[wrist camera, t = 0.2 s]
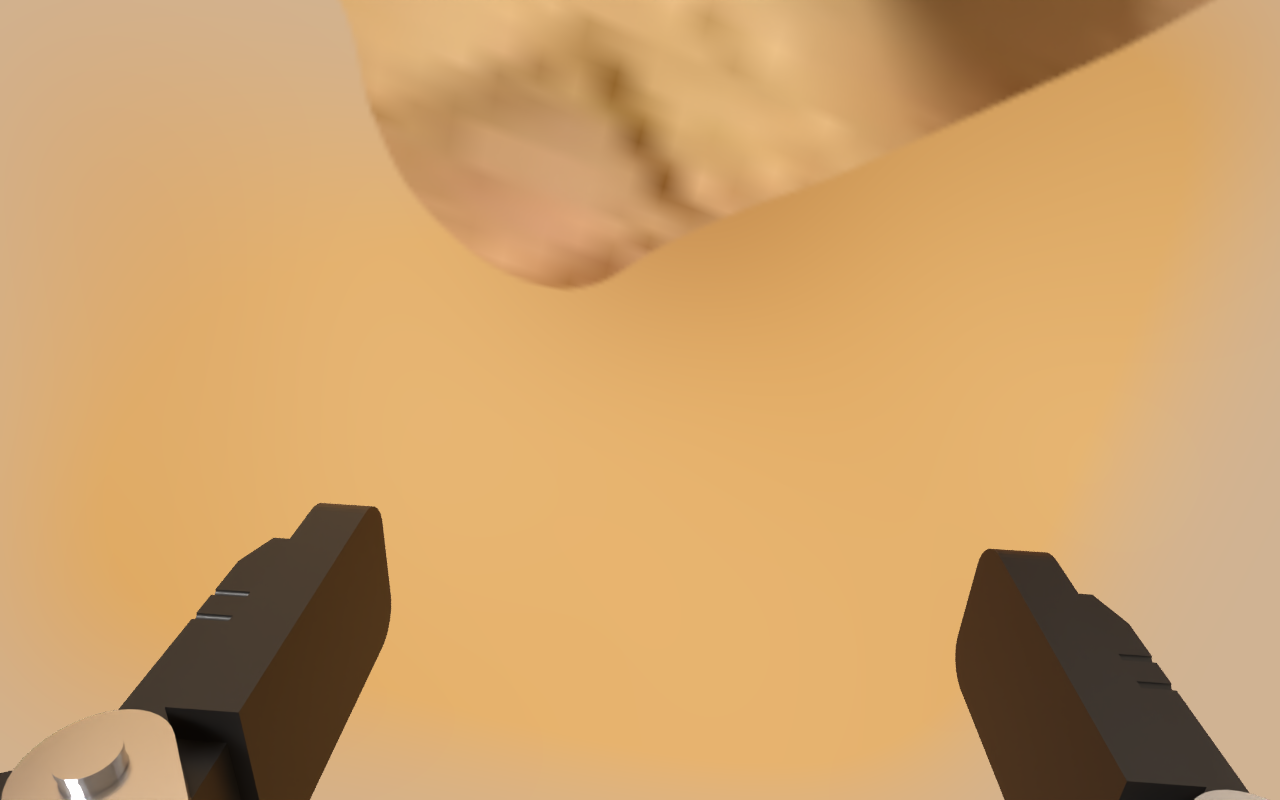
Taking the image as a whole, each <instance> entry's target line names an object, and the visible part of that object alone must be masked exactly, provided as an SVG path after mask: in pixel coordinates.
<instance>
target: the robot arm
mask: <svg viewBox="0 0 1280 800" xmlns="http://www.w3.org/2000/svg"><path fill="white" fill-rule="evenodd" d="M390 614H391V594H390V585H389V576H388V568H387V559H386V550H385V542H384V533H383V524H382V518H381V514H380V512H379V511H378V509H377V508H376V507H372V506H371V507H370V506H357V505H341V504H326V503H319V504H317V505H316V506H314V507H313V509H312V510H311V511H310V512H309V514H308V515H307V516H306V518H305V519H304V521H303V522H302V523H301V525H300V526H299V527H298V529H297V530H296V531H295V533H294V534H293V535H292V537H291V538H290V539H283V538H282V539H281V538H273V539H271V540H270V541H268V542H267V543H265V544H264V545H262V546H261V547H259V548H258V549H256V550H254V551H253V552H251V553H250V554H248V555H247V556H245V557H244V558H242V559H241V560H240V561H238V563H237V564H236V565H235V566H234V567H233V568H232V570H231V571H230V572H229V573H228V575H227V576H226V577H225V578H224V580H223V581H222V582H221V583H220V585H219V586H218V587H217V588H216V593H215V595H211V596H210V597H209V598H208V600H207V601H206V602H205V603H204V604H203V606H202V607H201V608H200V609H199V611H198V612H197V616H196V619H192V620H190V622H189V623H188V624H187V626H186V627H185V628H184V629H183V630H182V632H181V633H180V634H179V635H178V637H177V638H176V639H175V640H174V642H173V643H172V644H171V645H170V646H169V648H168V649H167V650H166V651H165V653H164V654H163V656H162V657H161V658H160V659H159V660H158V661H157V663H156V664H155V665H154V666H153V667H152V669H151V670H150V671H149V672H148V674H147V675H146V676H145V677H144V679H143V680H142V681H141V682H140V684H139V685H138V686H137V687H136V689H135V690H134V691H133V692H132V693H131V695H130V696H129V697H128V698H127V700H126V701H125V702H124V703H123V705H122V706H121V707H120V708H119V710H114V711H109V712H104V713H100V714H96V715H93V716H90V717H87V718H84V719H82V720H79V721H77V722H74V723H72V724H70V725H69V726H66V727H64V728H62V729H60V730H59V731H57V732H55V733H54V734H52V735H51V736H49V737H48V738H46V739H45V740H43V741H42V742H41V743H39V744H38V745H37V746H36V747H34V748H33V749H32V750H31V751H30V752H29V753H28V754H27V755H26V756H25V757H23V758H22V760H21V761H20V762H19V763H18V764H17V766H16V767H15V768H14V770H13V771H8V772H4V773H0V800H310V798H311V796H312V794H313V792H314V790H315V788H316V785H317V783H318V781H319V779H320V777H321V775H322V773H323V771H324V768H325V767H326V764H327V762H328V760H329V758H330V756H331V754H332V752H333V750H334V748H335V745H336V743H337V741H338V739H339V737H340V735H341V733H342V731H343V729H344V726H345V724H346V722H347V720H348V718H349V716H350V714H351V712H352V710H353V707H354V706H355V703H356V701H357V699H358V697H359V695H360V693H361V691H362V688H363V687H364V684H365V682H366V680H367V678H368V676H369V674H370V672H371V670H372V667H373V666H374V663H375V661H376V659H377V657H378V655H379V653H380V651H381V649H382V647H383V644H384V641H385V639H386V635H387V632H388V627H389V622H390ZM1151 658H1152V656H1151V654H1150V653H1149V652H1148V650H1147V649H1146V647H1145V646H1144V645H1143V643H1142V642H1141V640H1140V639H1139V638H1138V636H1137V635H1136V634H1135V632H1134V631H1133V629H1132V628H1131V626H1130V625H1129V624H1128V623H1127V622H1126V621H1124V620H1123V619H1122V618H1121V617H1120V616H1118V615H1117V614H1116V613H1114V612H1113V611H1112V610H1111V609H1109V608H1108V607H1107V606H1106V605H1104V604H1103V603H1102V602H1101V601H1099V600H1098V599H1097V598H1096V597H1094V596H1093V595H1087V594H1078V592H1077V591H1076V590H1075V588H1074V586H1073V585H1072V583H1071V582H1070V580H1069V579H1068V577H1067V576H1066V574H1065V573H1064V571H1063V570H1062V568H1061V567H1060V566H1059V564H1058V562H1057V561H1056V560H1055V558H1054V557H1053V556H1052V555H1050V554H1049V553H1045V552H1044V553H1043V552H1029V551H1014V550H999V549H987V550H986V551H984V553H983V554H982V555H981V557H980V559H979V562H978V566H977V569H976V573H975V576H974V580H973V583H972V587H971V591H970V594H969V598H968V601H967V605H966V609H965V612H964V616H963V619H962V623H961V627H960V631H959V634H958V638H957V644H956V659H955V660H956V672H957V678H958V682H959V686H960V689H961V692H962V694H963V696H964V699H965V702H966V704H967V706H968V709H969V712H970V714H971V716H972V719H973V722H974V724H975V727H976V729H977V732H978V734H979V737H980V739H981V741H982V744H983V747H984V749H985V751H986V754H987V757H988V759H989V762H990V764H991V767H992V769H993V771H994V774H995V777H996V779H997V781H998V784H999V786H1000V789H1001V792H1002V794H1003V797H1004V799H1005V800H1268V799H1266V798H1263V797H1260V796H1257V795H1254V794H1250V793H1249V792H1248V790H1247V789H1246V788H1245V786H1244V785H1243V783H1242V782H1241V780H1240V779H1239V778H1238V776H1237V775H1236V773H1235V772H1234V771H1233V769H1232V768H1231V766H1230V765H1229V764H1228V762H1227V761H1226V759H1225V758H1224V757H1223V755H1222V754H1221V752H1220V751H1219V750H1218V748H1217V747H1216V746H1215V744H1214V743H1213V741H1212V740H1211V738H1210V737H1209V736H1208V734H1207V733H1206V731H1205V730H1204V729H1203V727H1202V726H1201V724H1200V723H1199V722H1198V720H1197V719H1196V717H1195V716H1194V715H1193V713H1192V712H1191V710H1190V709H1189V708H1188V706H1187V705H1186V703H1185V702H1184V701H1183V699H1182V698H1181V696H1180V695H1179V694H1178V692H1177V691H1173V690H1172V689H1171V683H1170V681H1169V680H1168V678H1167V677H1166V676H1165V674H1164V673H1163V671H1162V670H1161V668H1160V667H1159V666H1158V664H1157V663H1152V659H1151Z"/></svg>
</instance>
